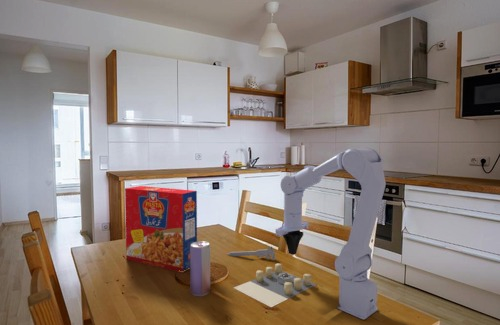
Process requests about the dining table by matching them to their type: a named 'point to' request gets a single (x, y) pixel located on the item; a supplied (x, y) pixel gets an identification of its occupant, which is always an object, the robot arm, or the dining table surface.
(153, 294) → the dining table surface
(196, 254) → the beverage can
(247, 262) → the dining table surface
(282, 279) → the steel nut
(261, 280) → the board
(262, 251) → the caliper
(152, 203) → the pasta box
